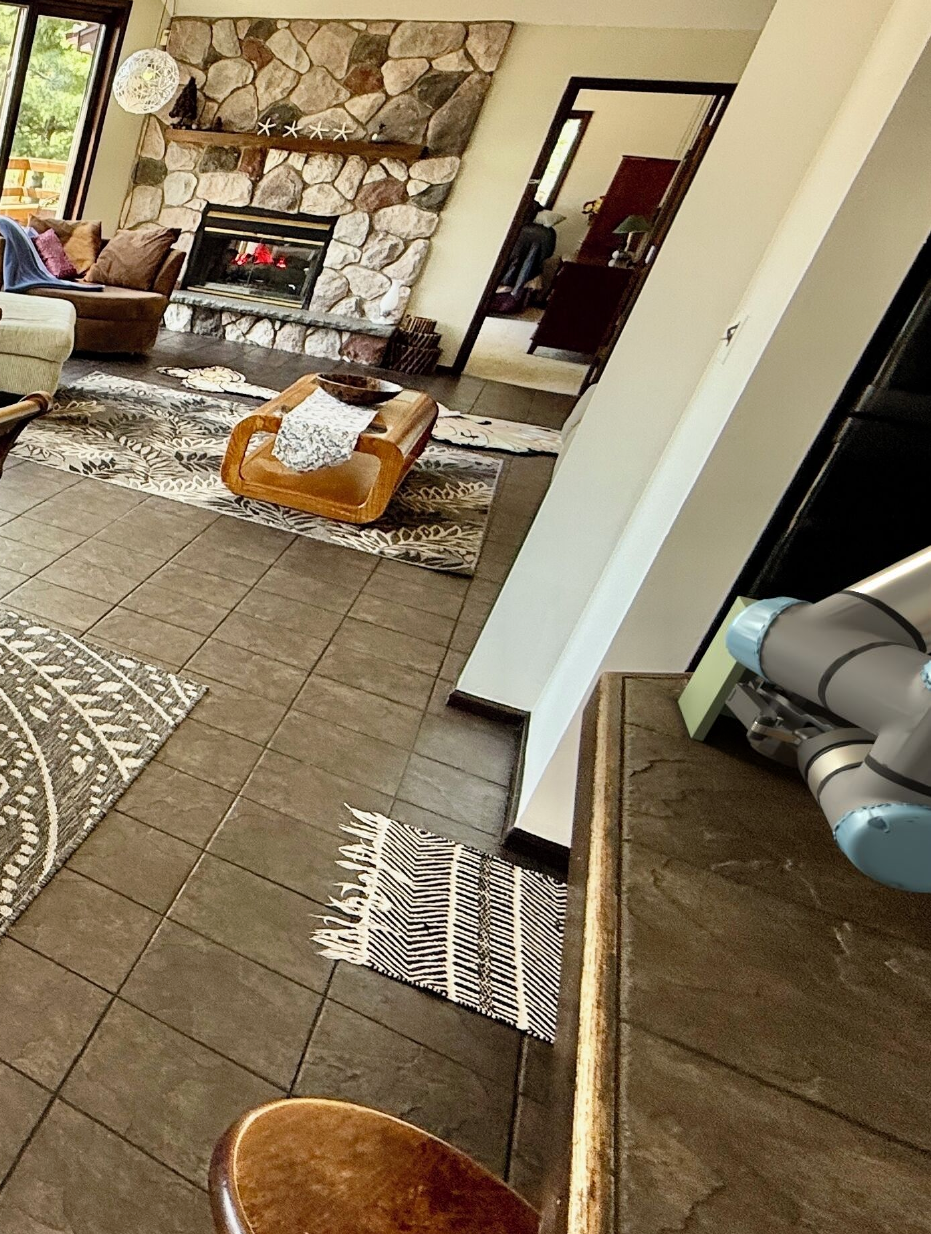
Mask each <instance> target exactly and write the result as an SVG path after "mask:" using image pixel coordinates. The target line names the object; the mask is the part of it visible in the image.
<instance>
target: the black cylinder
mask: <svg viewBox="0 0 931 1234" xmlns="http://www.w3.org/2000/svg"><path fill="white" fill-rule="evenodd" d="M781 688H782V690H783V691H782V693H781V696H782V697H784V698H785V699H787V700H788V701H790V702H791V703H793V704H794V705H796V706H797V707H799V708H800V709H802V710H803V711H805V712H806V713H808V714H809V715H814V716H819V717H823V718H825V719H826V720H828V721H829V722H831V723H832V724H834V725H835V726H838V727H843V728H861V727H860V726H858V725H856V724H854V723H852V722H850V721H848V720H846V719H844V718H842V717H840V716H839V715H837V714H835V713H833V712H831V711H829V710H828V709H826V708H825V707H823V706H821V705H819V704H817V703H815V702H813V701H811V700H809V699H807V698H805V697H803V696H801V695H798V694H796V693H794V692H792V691H790V690H788V689H786V688H784V687H782V686H781ZM745 737H746V739H747V741H748V743H749V745H750V746H751V748H752V749H753V750H755V751H756V752H757V753H759V754H761V755H762V756H765V757H766V758H769V759H771V760H773V761H775V762H777V763H779V764H783V765H785V766H789V767H791V768H795V769H797V770H799V766H798V756H797V753H796V752H794V751H793V750H791V749H790V748H788V746H787V745H786V742H785V741H782V740H779V739H776V738H772V739H771V740H768V739H765V738H764V740H763V741H758V740H754V739H751V738H750V737H748V736H747V734H746V735H745Z"/></svg>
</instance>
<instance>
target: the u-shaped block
mask: <svg viewBox="0 0 931 1234" xmlns="http://www.w3.org/2000/svg"><path fill="white" fill-rule="evenodd" d="M758 601H760V600H758V599H753V598H749V597H745V596H740V595H738V596H737V597H736V599H735V601H734V603H733V604H732V606H731V607H730V610H729V611H728V613H727V615H726V617H725V618H724V620H723V622H722V623H721V626H720V627H719V629H718V630H717V632H716V634H715V636H714V637H713V639H712V641H711V643H710V644H709V647H708V648H707V650H706V652H705V654H704V655H703V657H702V658H701V660H700V662H699V664H698V666H697V667H696V669H695V671H694V672H693V675H692V676H691V678H690V680H689V681H688V682H687V684H686V686H685V688H684V690H683V692H682V693H681V695H680V696H679V698H678V700H677V703H678V706H679V708H680V711H681V712H682V717H683V719H684V722H685V725H686V729H687V730H688V733H689V735H690V738H691V739H693V740H696V741H700V742H704V740H705V738H706V737H707V734H708V733H709V731H710V729H711V728H712V726H713V725H714V723H715V721H716V720H717V718H718V716H719V715H722V716H725V717H728V718H732V719H736V720H739V718H738V717H737V716H736V715H735V714H734V713H733V712H732V710H731V709H730V708H729V707H728V706H727V705H726V703H725V701H726V700H727V698H728V696H729V695H730V693H731V691H732V690H733V688H734V686H735V685H736V683H745V684H747V685H748V684H749V682H750V681H751V680H754V679H755V677H756V676H757V673H755V672H754V671H752V670H750V669H749V668H747V667H745V666H744V665H742V664H741V663H739V662H738V661H736V660H735V659H734V658H733V657H732V656H731V655H730V654H729V653H728V649H727V647H726V643H725V637H726V632H727V629H728V627H729V625H730V623H731V622H732V620H733V619H734V618H735V617H736V616H737V615H738V614H739V613H740V612H741V611H742V610H744V609H745V608H747V607H748V606H750V605H752V604H754V603H756V602H758Z"/></svg>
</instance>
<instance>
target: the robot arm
mask: <svg viewBox="0 0 931 1234" xmlns="http://www.w3.org/2000/svg"><path fill="white" fill-rule="evenodd" d="M725 643H726V647H727V649H728V653H729V654H730V655H731V656H732V657H733V658H734V659H735V660H736V661H738V662H739V663H741V664H742V665H744V666H745V667H747V668H749V669H750V670H752V671H754V672H755V673H757V676H756V677H755V679H754V680H751V681H750V682H749V684H748V685H747V684H745V683H736V685H735V686H734V688H733V690H732V691H731V693H730V695H729V696H728V698H727V700H726V701H725V703H726V705H727V706H728V707H729V708H730V709H731V710H732V712H733V713H734V714H735V715H736V716H737V717H738V718H739V719H738V721H740V722H741V723H742V724H743V725H744V727H745V728H746V729H747V733H746V735H747V736H748V737H750V738H751V739H754V740H758V741H763V740H764V738H765V739H768V740H771V739H772V738H776V739H779V740H782V741H785V742H786V745H787V746H788V748H790V749H791V750H793V751H794V752H796V753H797V756H798V766H799V769H798V770H799V773H800V774H801V776H802V778H803V780H804V782H805V783H806V785H807V788H808V789H809V790H810V791H811V793H812V795H813V797H814V799H815V801H816V803H817V804H818V806H819V808H820V810H821V812H822V813H823V815H824V816H825V818H826V820H827V822H828V825H829V826H830V829H831V831H832V835H833V840H834V842H835V844H836V846H837V847H838V848H839V849H840V850H841V852H842V853H844V854H845V856H846V857H847V859H848V860H849V861H850V862H851V863H852V864H853V865H854V867H856V868H857V869H858V870H859V871H860V872H861V873H863V874H864V875H865V876H867V877H868V878H870V879H871V880H874V881H876V882H877V883H880V884H881V885H885V886H887V887H889V888H893V889H897V890H900V891H905V892H911V893H919V894H922V893H923V894H931V655H929V654H930V653H931V545H929V546H927V547H925V548H923V549H921V550H919V551H917V552H915V553H913V554H911V555H909V556H907V557H905V558H903V559H901V560H899V561H897V562H895V563H893V564H891V565H890V566H888V567H885V568H884V569H882V570H880V571H878V572H876V573H874V574H872V575H869V576H867V577H866V578H864V579H861V580H860V581H858V582H856V583H854V584H852V585H850V586H848V587H846V588H844V589H842V590H840V591H838V592H837V593H834V594H832V595H830V596H827V597H826V598H824V599H821V600H820V601H818V602H816V603H812V602H809V601H807V600H803V599H798V598H793V597H787V596H779V597H778V596H777V597H775V598H767V599H766V598H764V599H762V600H761V599H760V600H759V601H758V602H756V603H754V604H752V605H750V606H748V607H747V608H745V609H744V610H742V611H741V612H740V613H739V614H738V615H737V616H736V617H735V618H734V619H733V620H732V622H731V623H730V625H729V627H728V629H727V632H726V637H725ZM781 686H782V687H784V688H786V689H788V690H790V691H792V692H794V693H796V694H798V695H801V696H803V697H805V698H807V699H809V700H811V701H813V702H815V703H817V704H819V705H821V706H823V707H825V708H826V709H828V710H829V711H831V712H833V713H835V714H837V715H839V716H840V717H842V718H844V719H846V720H848V721H850V722H852V723H854V724H856V725H858V726H860V727H861V728H843V727H838V726H835V725H834V724H832V723H831V722H829V721H828V720H826V719H825V718H823V717H819V716H814V715H809V714H808V713H806V712H805V711H803V710H802V709H800V708H799V707H797V706H796V705H794V704H793V703H791V702H790V701H788V700H787V699H785V698H784V697H782V696H781V693H782V691H783V690H782V688H781Z"/></svg>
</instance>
